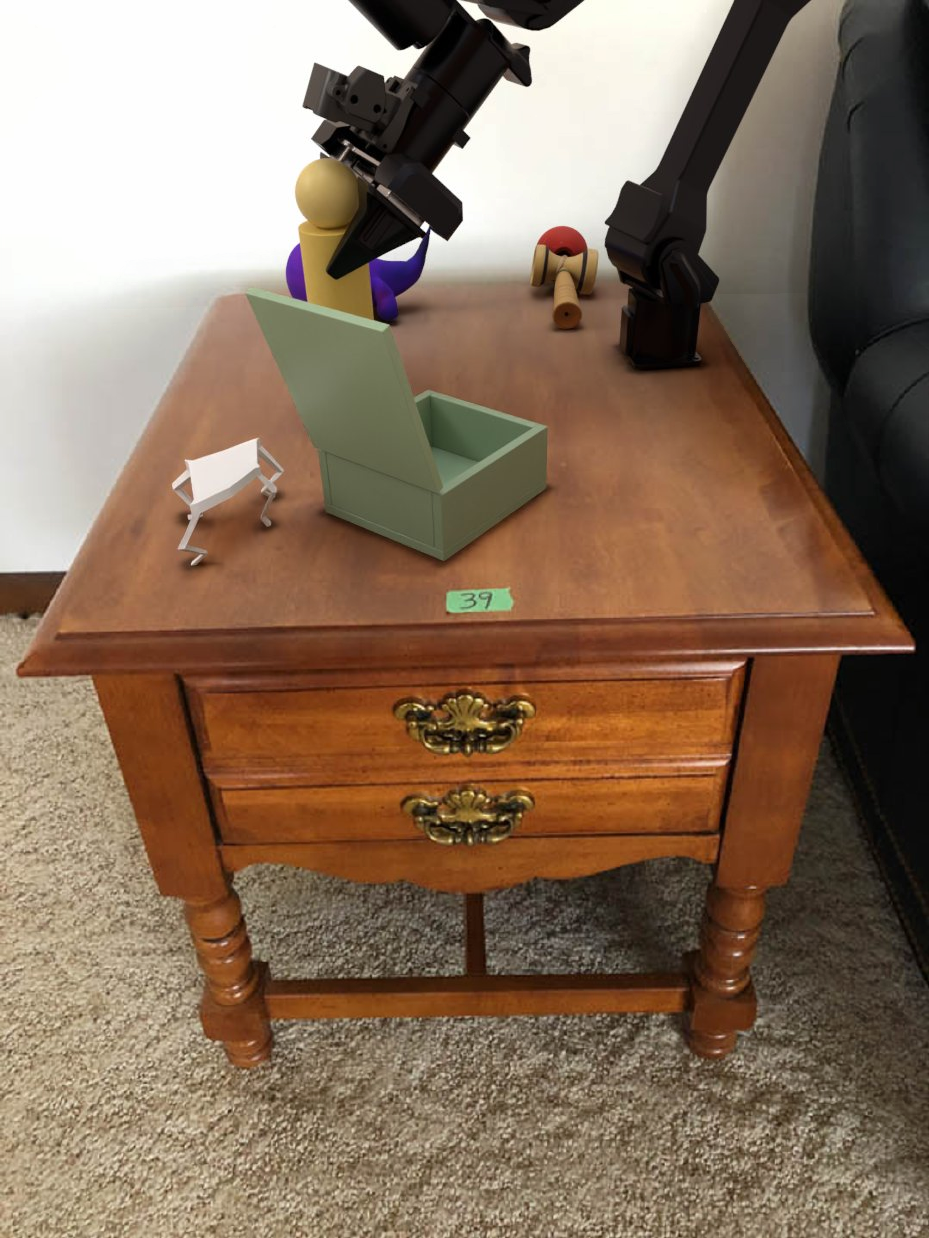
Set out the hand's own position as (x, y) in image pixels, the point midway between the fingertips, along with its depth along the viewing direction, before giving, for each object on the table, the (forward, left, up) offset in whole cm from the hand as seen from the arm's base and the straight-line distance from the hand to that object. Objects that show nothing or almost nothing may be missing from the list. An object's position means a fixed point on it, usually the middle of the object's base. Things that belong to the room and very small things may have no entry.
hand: (319, 266), depth 81 cm
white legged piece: (+9, +16, -14) cm, 23 cm away
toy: (-3, -27, -14) cm, 31 cm away
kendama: (-25, -27, -14) cm, 40 cm away
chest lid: (-2, +20, -2) cm, 20 cm away
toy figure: (-1, 0, -7) cm, 7 cm away
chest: (-7, +14, -14) cm, 21 cm away
